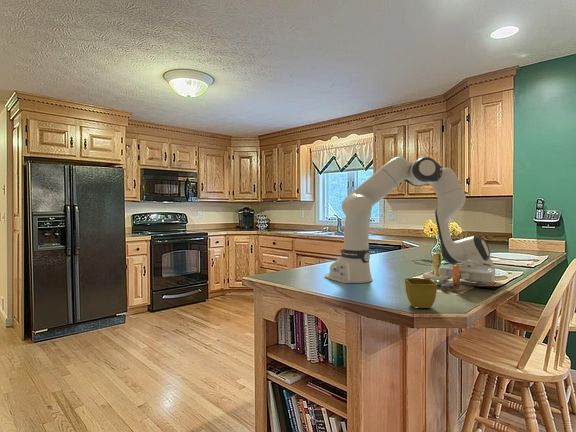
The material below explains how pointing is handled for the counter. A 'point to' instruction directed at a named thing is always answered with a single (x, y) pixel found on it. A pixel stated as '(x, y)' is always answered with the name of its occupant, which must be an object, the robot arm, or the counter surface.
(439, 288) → the crank base
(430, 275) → the dish
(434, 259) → the pin
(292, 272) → the counter surface
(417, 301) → the flower pot
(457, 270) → the crank
